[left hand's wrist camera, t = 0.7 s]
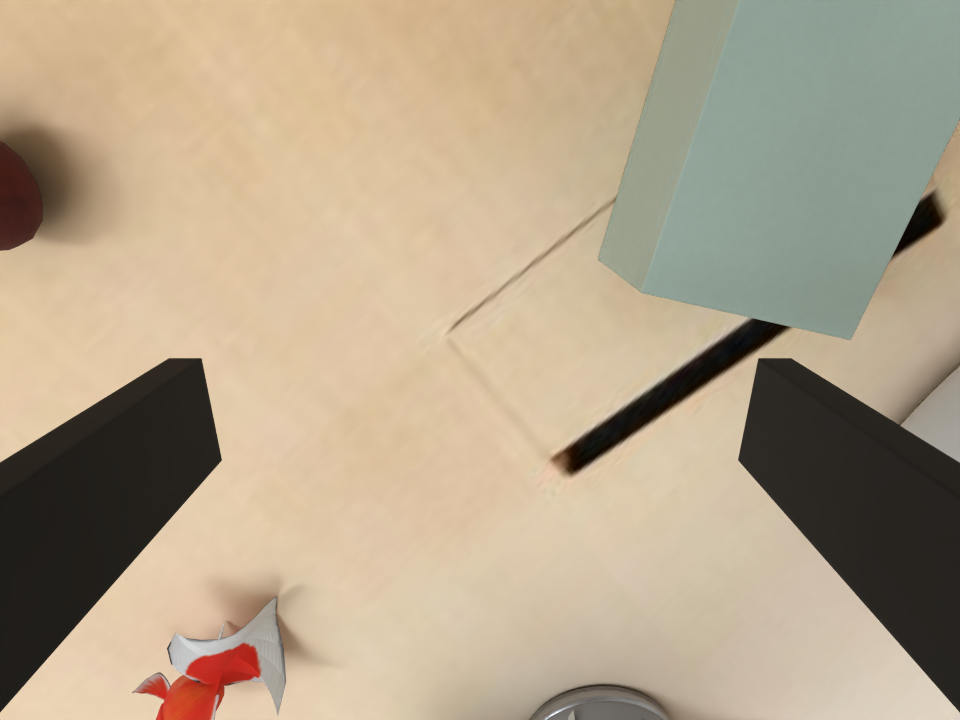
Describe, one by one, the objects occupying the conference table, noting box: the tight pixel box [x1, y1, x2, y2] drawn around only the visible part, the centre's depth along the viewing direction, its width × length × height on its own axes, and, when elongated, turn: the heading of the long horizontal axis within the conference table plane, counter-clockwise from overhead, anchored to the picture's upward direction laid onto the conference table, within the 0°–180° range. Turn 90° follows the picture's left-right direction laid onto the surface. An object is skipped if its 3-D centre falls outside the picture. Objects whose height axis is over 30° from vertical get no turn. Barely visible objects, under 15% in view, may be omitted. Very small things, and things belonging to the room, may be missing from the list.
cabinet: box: [598, 0, 960, 340], centre depth 29 cm, size 20×12×10 cm, turn 168°
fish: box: [132, 596, 286, 720], centre depth 44 cm, size 11×16×10 cm
